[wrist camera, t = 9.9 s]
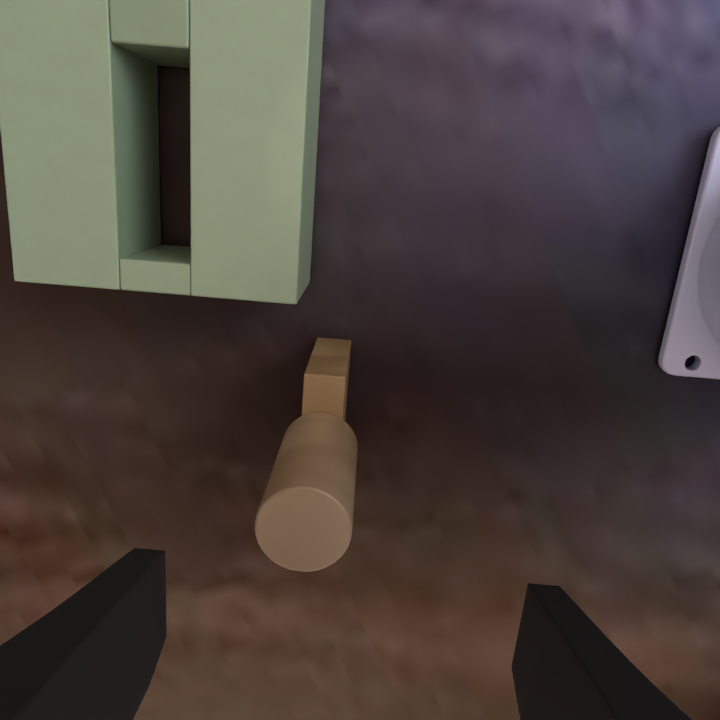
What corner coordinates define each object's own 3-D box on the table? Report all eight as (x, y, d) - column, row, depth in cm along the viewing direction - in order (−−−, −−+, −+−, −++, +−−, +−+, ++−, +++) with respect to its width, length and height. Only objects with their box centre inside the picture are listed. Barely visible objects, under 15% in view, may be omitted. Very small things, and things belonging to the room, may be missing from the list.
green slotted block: (338, -235, 16) (328, -341, 13) (309, 283, 20) (296, 305, 17) (40, -259, 16) (-48, -372, 13) (73, 263, 20) (13, 281, 17)
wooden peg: (366, 340, 21) (359, 446, 13) (356, 455, 22) (345, 616, 14) (302, 335, 21) (256, 437, 13) (296, 450, 22) (251, 609, 14)
